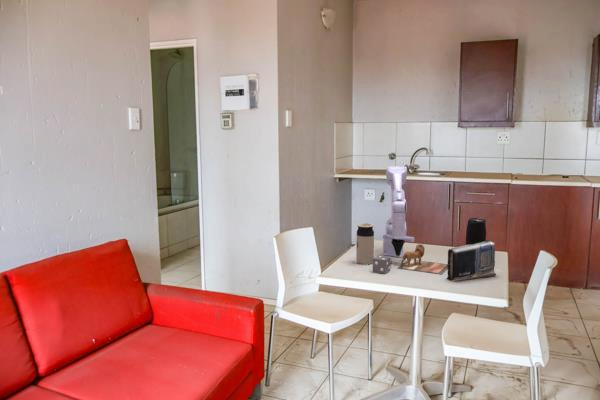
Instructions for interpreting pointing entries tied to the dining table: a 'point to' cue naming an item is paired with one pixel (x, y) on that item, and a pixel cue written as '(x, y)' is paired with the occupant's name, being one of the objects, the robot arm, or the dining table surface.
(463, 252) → the radio
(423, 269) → the board
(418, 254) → the lion figurine
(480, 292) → the dining table surface
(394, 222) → the robot arm
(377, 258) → the die
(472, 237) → the portable speaker
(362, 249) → the travel mug
